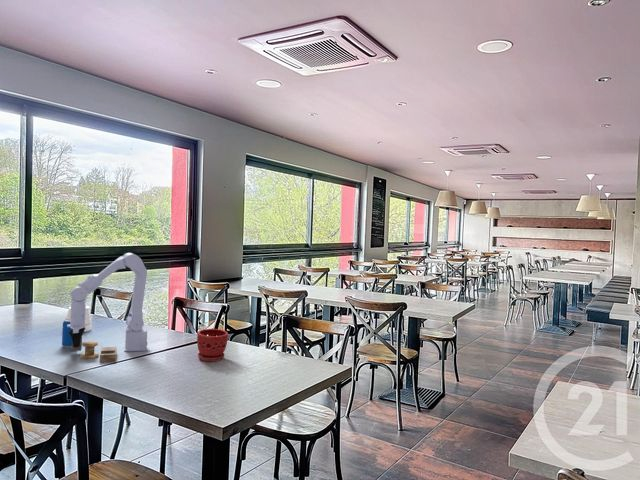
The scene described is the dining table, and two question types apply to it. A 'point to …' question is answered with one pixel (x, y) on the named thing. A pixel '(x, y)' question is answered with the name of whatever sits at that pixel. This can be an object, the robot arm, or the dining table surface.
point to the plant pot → (211, 344)
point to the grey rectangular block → (77, 347)
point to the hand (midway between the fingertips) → (76, 345)
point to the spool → (89, 350)
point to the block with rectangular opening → (108, 354)
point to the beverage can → (66, 334)
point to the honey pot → (87, 318)
